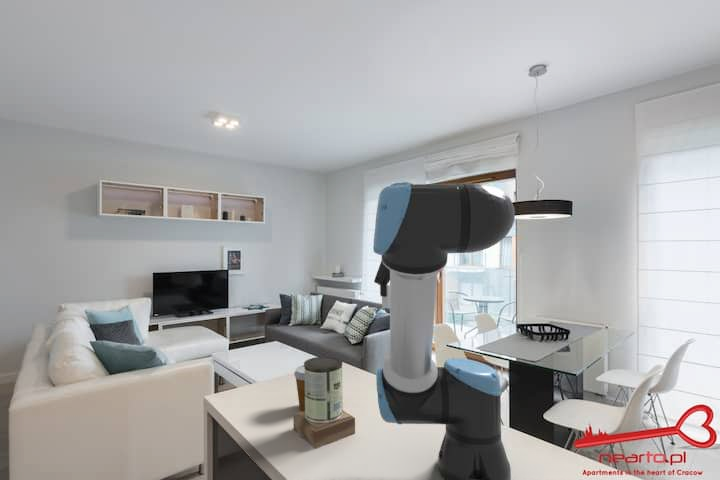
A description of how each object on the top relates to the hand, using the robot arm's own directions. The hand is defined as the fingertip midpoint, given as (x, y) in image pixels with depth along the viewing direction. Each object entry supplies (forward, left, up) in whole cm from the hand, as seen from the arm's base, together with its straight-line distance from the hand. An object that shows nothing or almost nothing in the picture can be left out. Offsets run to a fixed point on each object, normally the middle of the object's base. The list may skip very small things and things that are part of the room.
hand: (403, 305), depth 109 cm
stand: (+5, +25, -32) cm, 41 cm away
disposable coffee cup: (+20, +21, -32) cm, 43 cm away
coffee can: (+5, +25, -28) cm, 38 cm away
